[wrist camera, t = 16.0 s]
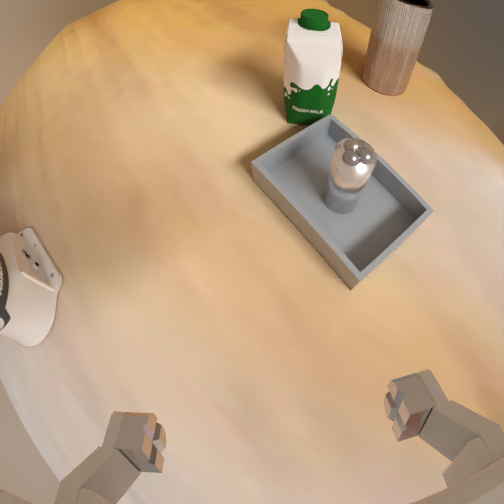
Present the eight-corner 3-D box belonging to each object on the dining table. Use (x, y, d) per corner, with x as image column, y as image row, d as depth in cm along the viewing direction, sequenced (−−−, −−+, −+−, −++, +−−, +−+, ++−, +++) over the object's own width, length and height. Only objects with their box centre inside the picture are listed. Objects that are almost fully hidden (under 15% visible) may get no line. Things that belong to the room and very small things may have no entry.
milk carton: (331, 98, 53) (343, 11, 34) (331, 132, 50) (348, 38, 31) (285, 94, 54) (285, 5, 35) (281, 126, 51) (281, 30, 32)
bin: (253, 180, 48) (250, 161, 43) (327, 133, 50) (330, 113, 45) (350, 290, 41) (359, 281, 36) (420, 225, 43) (433, 210, 38)
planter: (409, 81, 54) (436, 0, 33) (398, 103, 52) (430, 13, 31) (369, 62, 57) (386, -20, 35) (354, 82, 54) (372, -10, 33)
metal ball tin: (316, 195, 45) (326, 143, 33) (340, 177, 46) (356, 125, 34) (339, 220, 43) (359, 173, 32) (364, 201, 44) (387, 153, 32)
